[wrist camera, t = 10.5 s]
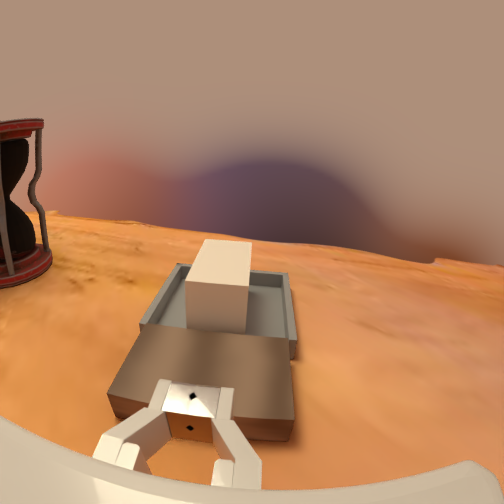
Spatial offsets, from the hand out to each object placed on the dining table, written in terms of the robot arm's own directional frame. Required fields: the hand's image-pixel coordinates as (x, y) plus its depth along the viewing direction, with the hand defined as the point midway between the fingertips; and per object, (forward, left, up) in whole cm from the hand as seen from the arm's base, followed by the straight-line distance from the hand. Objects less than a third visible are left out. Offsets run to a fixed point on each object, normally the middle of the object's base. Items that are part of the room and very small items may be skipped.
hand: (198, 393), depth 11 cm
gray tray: (+2, -24, -11) cm, 26 cm away
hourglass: (+41, -27, -12) cm, 50 cm away
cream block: (+2, -17, -7) cm, 18 cm away
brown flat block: (+2, -10, -11) cm, 15 cm away
